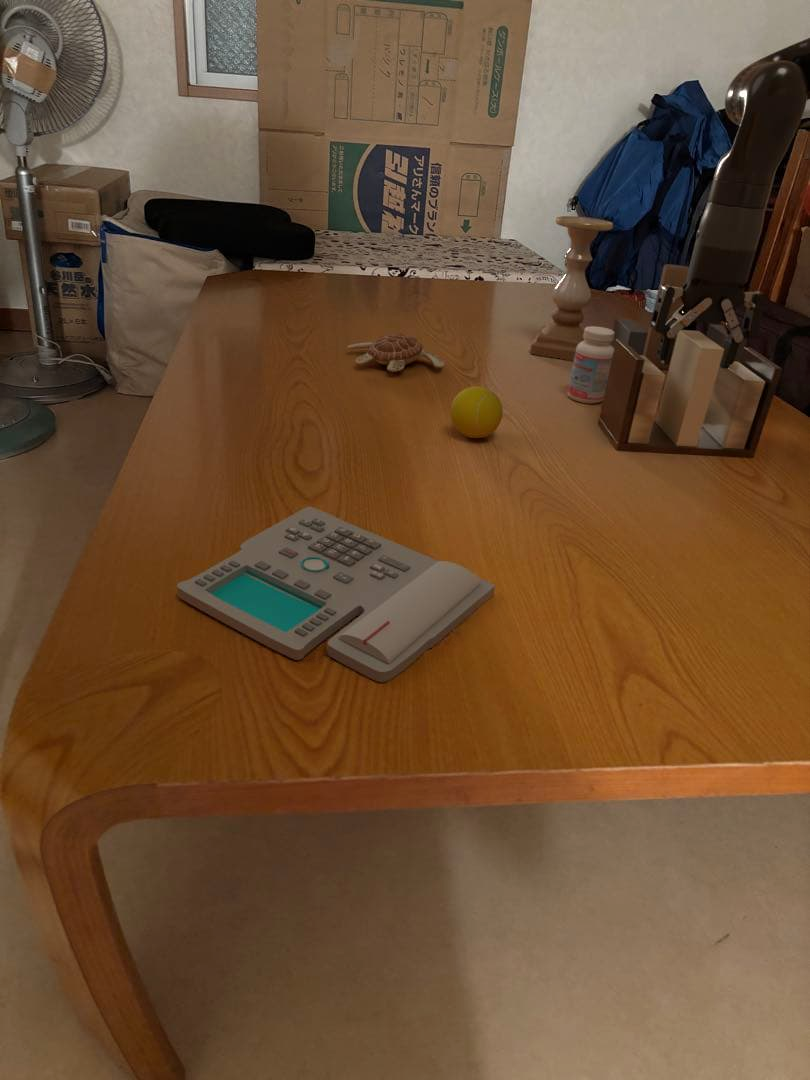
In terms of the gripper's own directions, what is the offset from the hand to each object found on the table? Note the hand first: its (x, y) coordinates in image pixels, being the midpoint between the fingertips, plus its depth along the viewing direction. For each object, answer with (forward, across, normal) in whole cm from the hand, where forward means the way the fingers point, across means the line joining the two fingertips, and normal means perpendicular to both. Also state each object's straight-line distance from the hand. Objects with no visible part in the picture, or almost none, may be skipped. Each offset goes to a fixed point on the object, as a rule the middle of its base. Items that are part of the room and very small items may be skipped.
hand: (693, 365), depth 108 cm
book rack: (+11, 0, 0) cm, 11 cm away
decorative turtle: (+11, -40, +30) cm, 51 cm away
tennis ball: (+11, -30, -2) cm, 32 cm away
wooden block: (+11, +12, +38) cm, 41 cm away
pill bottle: (+11, -9, +16) cm, 22 cm away
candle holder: (+11, -7, +44) cm, 46 cm away
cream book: (+10, 0, 0) cm, 10 cm away
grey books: (+11, +8, +26) cm, 30 cm away
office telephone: (+11, -48, -44) cm, 66 cm away
